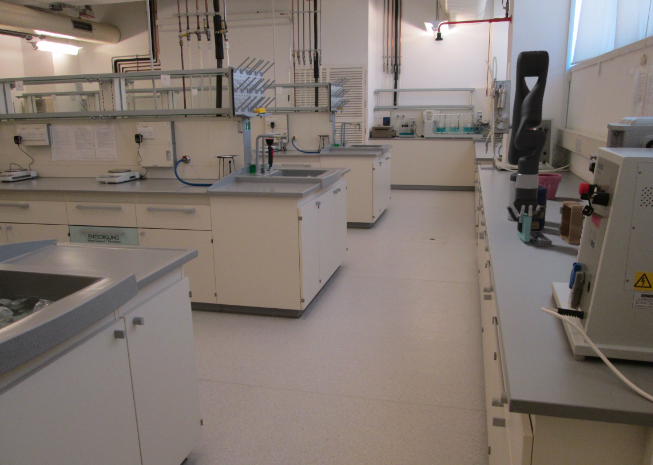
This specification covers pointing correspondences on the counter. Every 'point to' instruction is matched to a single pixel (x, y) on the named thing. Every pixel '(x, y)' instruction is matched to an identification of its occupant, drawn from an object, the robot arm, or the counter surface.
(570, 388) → the counter surface
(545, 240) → the grey rectangular frame
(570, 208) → the cabinet
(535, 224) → the canister
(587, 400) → the counter surface
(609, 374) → the counter surface
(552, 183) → the plant pot
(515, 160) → the robot arm
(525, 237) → the door panel
